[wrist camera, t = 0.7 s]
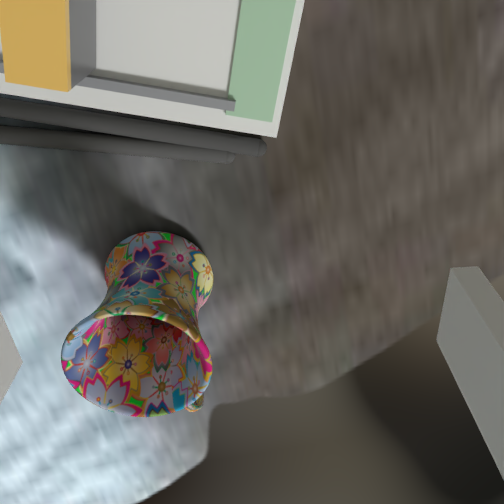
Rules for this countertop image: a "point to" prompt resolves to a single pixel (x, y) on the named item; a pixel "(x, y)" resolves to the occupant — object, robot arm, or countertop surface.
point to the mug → (145, 330)
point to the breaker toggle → (48, 42)
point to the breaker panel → (188, 62)
